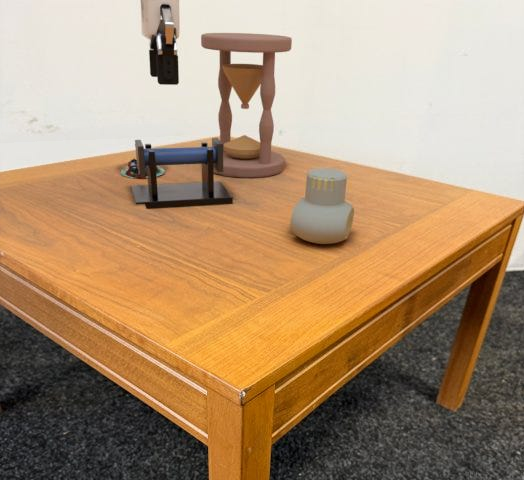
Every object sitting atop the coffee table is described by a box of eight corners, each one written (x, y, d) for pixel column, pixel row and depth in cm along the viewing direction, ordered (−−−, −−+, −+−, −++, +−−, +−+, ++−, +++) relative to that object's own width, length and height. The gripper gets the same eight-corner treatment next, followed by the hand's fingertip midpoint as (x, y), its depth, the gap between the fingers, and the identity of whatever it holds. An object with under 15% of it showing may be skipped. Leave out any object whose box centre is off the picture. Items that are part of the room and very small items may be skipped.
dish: (170, 163, 111) (137, 139, 109) (150, 192, 110) (117, 168, 108) (166, 172, 118) (136, 150, 116) (147, 199, 118) (117, 177, 116)
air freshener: (304, 223, 91) (308, 161, 86) (353, 230, 89) (361, 167, 84) (285, 246, 82) (289, 179, 77) (340, 254, 80) (348, 186, 75)
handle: (140, 175, 94) (137, 146, 91) (137, 168, 98) (134, 139, 95) (223, 172, 98) (223, 143, 95) (217, 164, 101) (217, 137, 99)
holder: (136, 209, 94) (131, 155, 89) (131, 192, 102) (126, 141, 97) (232, 203, 98) (233, 151, 94) (220, 187, 106) (220, 139, 102)
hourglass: (191, 161, 122) (186, 32, 109) (258, 154, 130) (262, 33, 116) (227, 182, 110) (227, 38, 96) (300, 173, 117) (309, 39, 104)
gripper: (127, -48, 86) (135, 73, 95) (138, -57, 72) (146, 87, 81) (175, -44, 88) (178, 74, 97) (194, -52, 74) (196, 88, 83)
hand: (164, 80), depth 89 cm, fingers open, 9 cm apart
